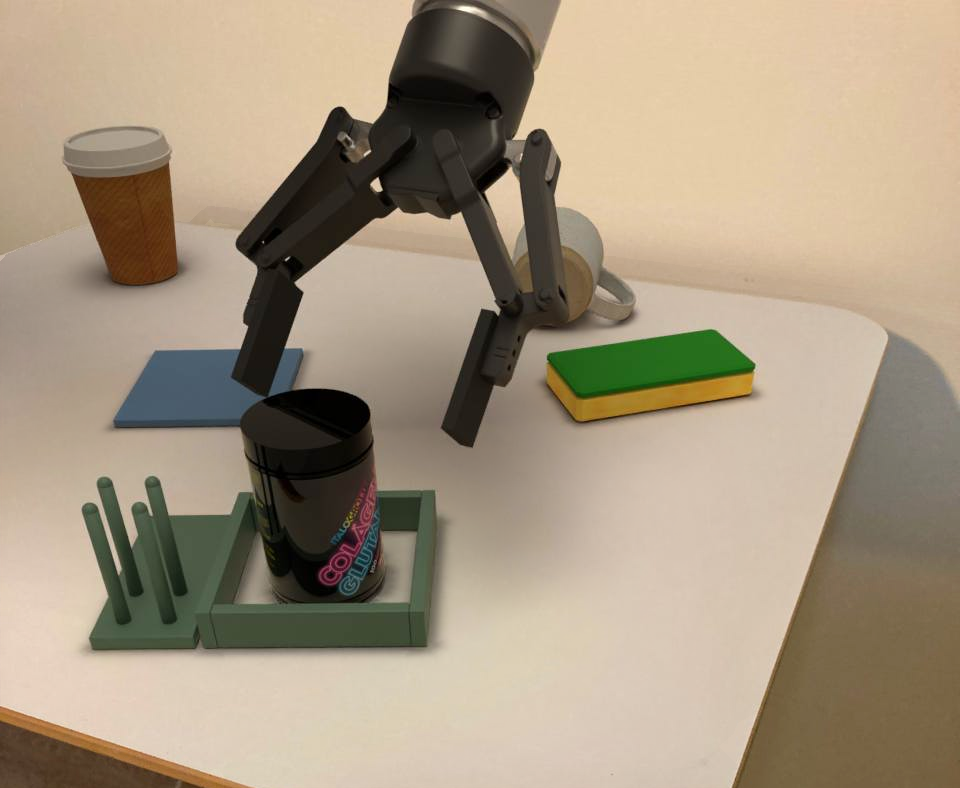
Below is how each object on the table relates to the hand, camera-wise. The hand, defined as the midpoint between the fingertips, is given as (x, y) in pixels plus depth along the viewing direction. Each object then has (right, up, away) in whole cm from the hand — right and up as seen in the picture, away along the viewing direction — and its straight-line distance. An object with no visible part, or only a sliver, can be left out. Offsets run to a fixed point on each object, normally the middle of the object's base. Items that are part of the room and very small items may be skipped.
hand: (348, 412), depth 57 cm
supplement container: (-2, -9, +4) cm, 10 cm away
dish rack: (-5, -9, +4) cm, 11 cm away
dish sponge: (+20, +6, +22) cm, 30 cm away
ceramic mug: (+15, +16, +33) cm, 40 cm away
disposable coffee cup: (-25, +23, +43) cm, 54 cm away
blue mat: (-13, +7, +23) cm, 27 cm away
